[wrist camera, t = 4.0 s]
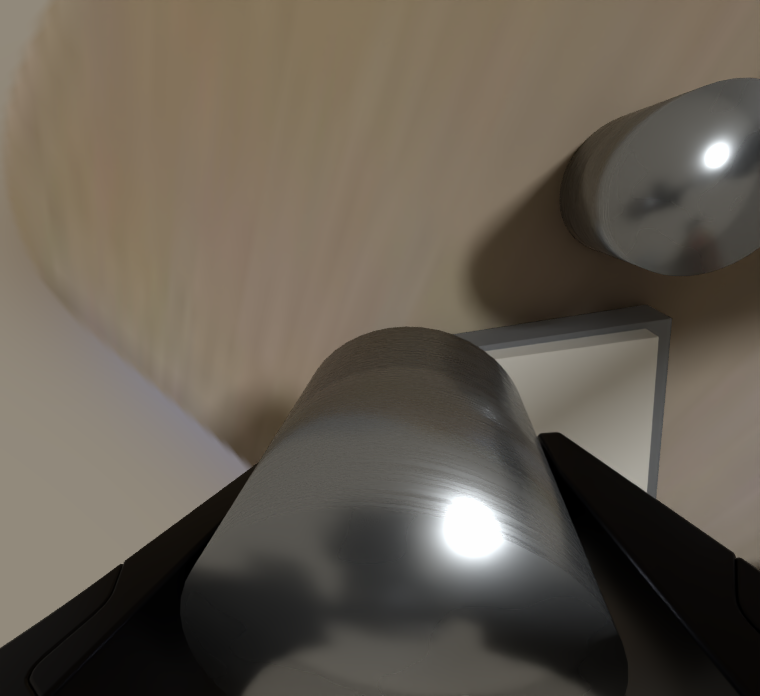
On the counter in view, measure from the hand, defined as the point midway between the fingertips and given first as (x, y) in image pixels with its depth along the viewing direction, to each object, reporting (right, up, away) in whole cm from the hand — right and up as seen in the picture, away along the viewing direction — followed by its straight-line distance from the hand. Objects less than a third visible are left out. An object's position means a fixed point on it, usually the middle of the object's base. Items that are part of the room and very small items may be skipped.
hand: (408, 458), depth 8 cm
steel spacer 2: (+10, +9, +8) cm, 16 cm away
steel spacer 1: (0, 0, +1) cm, 1 cm away
